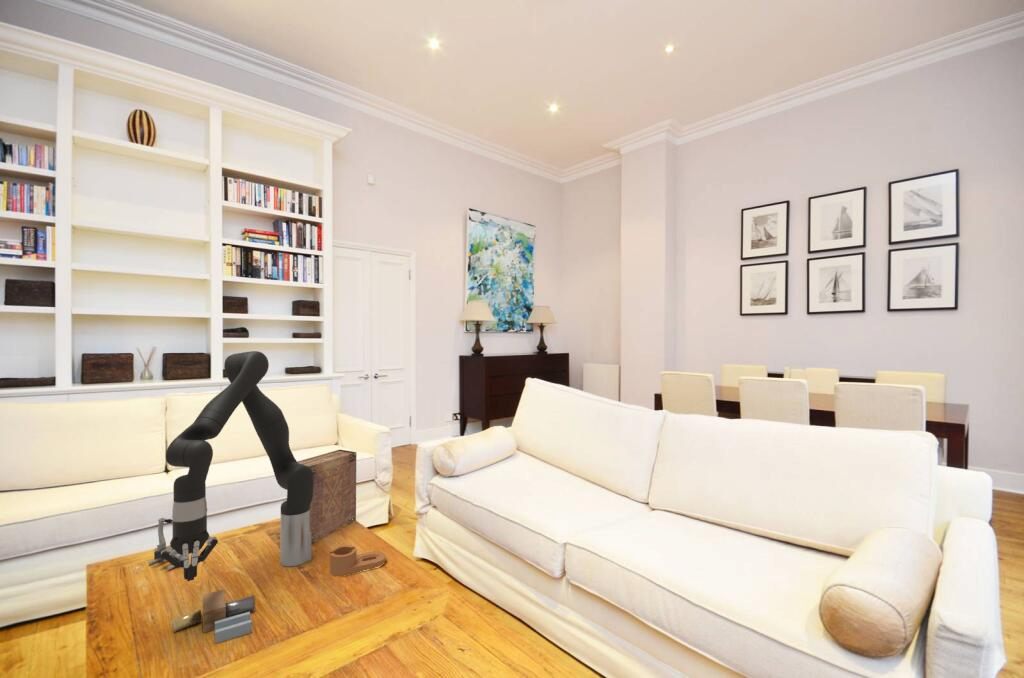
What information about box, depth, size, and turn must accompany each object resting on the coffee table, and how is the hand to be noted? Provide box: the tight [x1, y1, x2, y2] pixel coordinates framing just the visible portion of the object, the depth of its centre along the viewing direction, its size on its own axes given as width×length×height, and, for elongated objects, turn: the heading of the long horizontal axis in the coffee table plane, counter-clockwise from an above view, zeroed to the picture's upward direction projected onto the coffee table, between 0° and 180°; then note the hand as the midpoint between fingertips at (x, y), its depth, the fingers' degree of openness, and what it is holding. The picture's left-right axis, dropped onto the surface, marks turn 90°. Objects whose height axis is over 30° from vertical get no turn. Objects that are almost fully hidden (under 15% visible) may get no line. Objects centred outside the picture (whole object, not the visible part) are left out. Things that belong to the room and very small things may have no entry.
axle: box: [225, 595, 256, 618], centre depth 129 cm, size 10×4×4 cm, turn 122°
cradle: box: [214, 612, 253, 644], centre depth 121 cm, size 8×5×3 cm
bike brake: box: [147, 517, 183, 571], centre depth 155 cm, size 14×7×20 cm, turn 69°
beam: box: [202, 589, 226, 633], centre depth 126 cm, size 5×10×5 cm, turn 34°
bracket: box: [329, 544, 387, 577], centre depth 155 cm, size 18×8×7 cm, turn 118°
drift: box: [171, 609, 203, 633], centre depth 123 cm, size 6×3×3 cm
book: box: [296, 449, 357, 545], centre depth 181 cm, size 25×9×30 cm, turn 155°
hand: (190, 579), depth 123 cm, fingers closed
